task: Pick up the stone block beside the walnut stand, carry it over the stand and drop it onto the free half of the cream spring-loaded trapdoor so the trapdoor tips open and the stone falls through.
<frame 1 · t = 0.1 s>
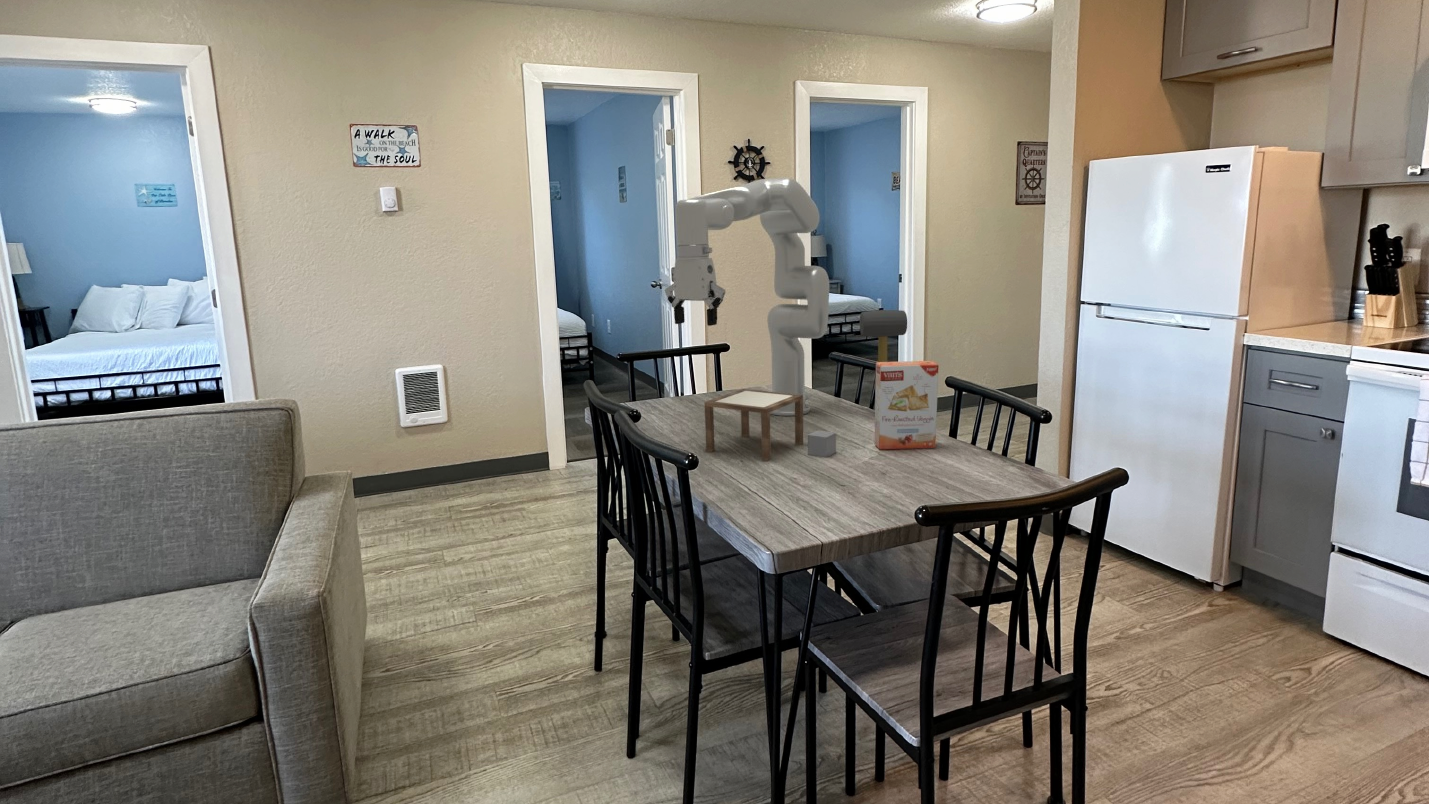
hand: (695, 324, 197), 31 cm above the table, fingers open, 9 cm apart
rubber mallet: (882, 415, 231), on the table
cracker box: (904, 447, 199), on the table
trapdoor: (754, 400, 200), point 12 cm above the table, hinge at -0.3°
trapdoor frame: (755, 447, 202), on the table
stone: (821, 453, 195), on the table
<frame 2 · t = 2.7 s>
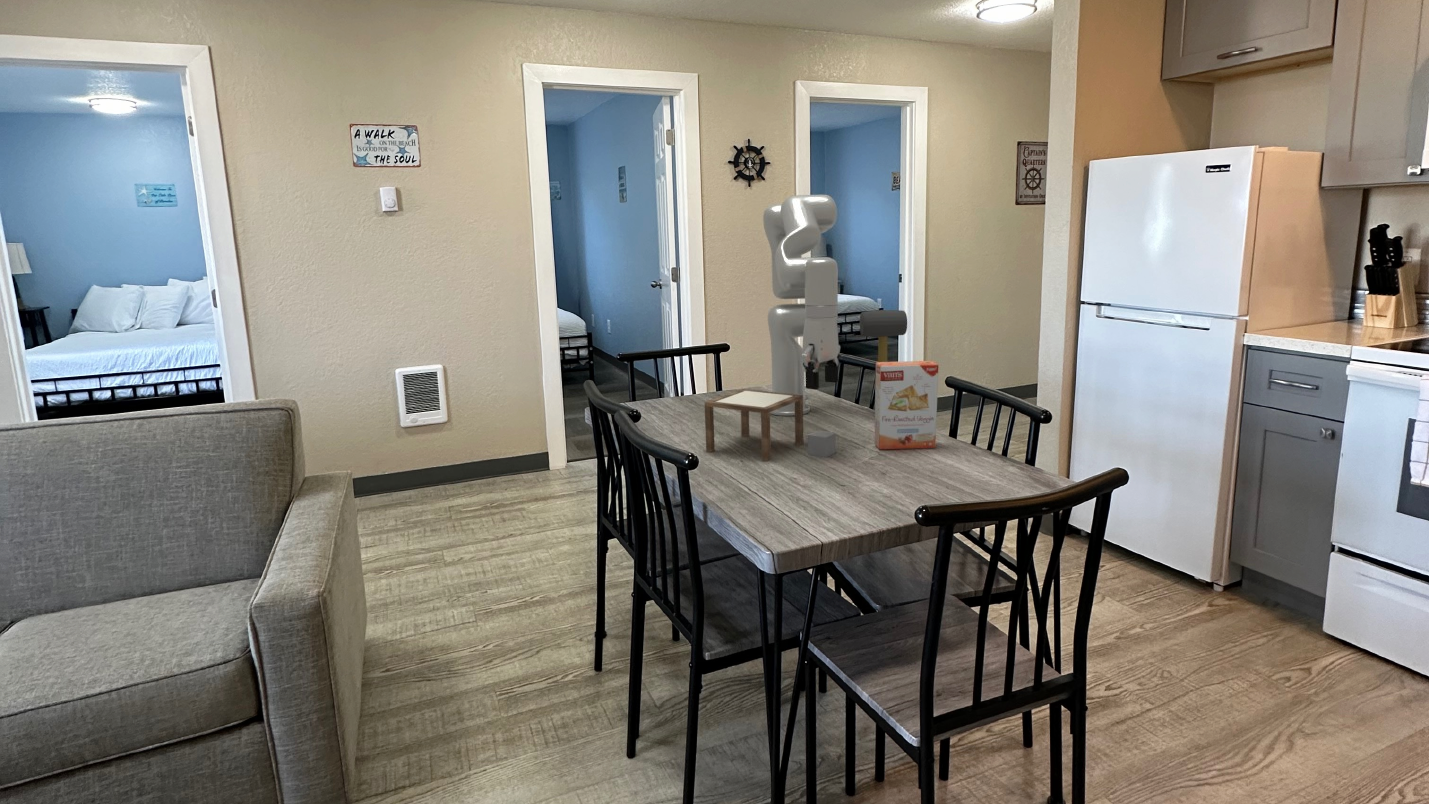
hand: (822, 385, 191), 17 cm above the table, fingers open, 9 cm apart
nothing on the table moved.
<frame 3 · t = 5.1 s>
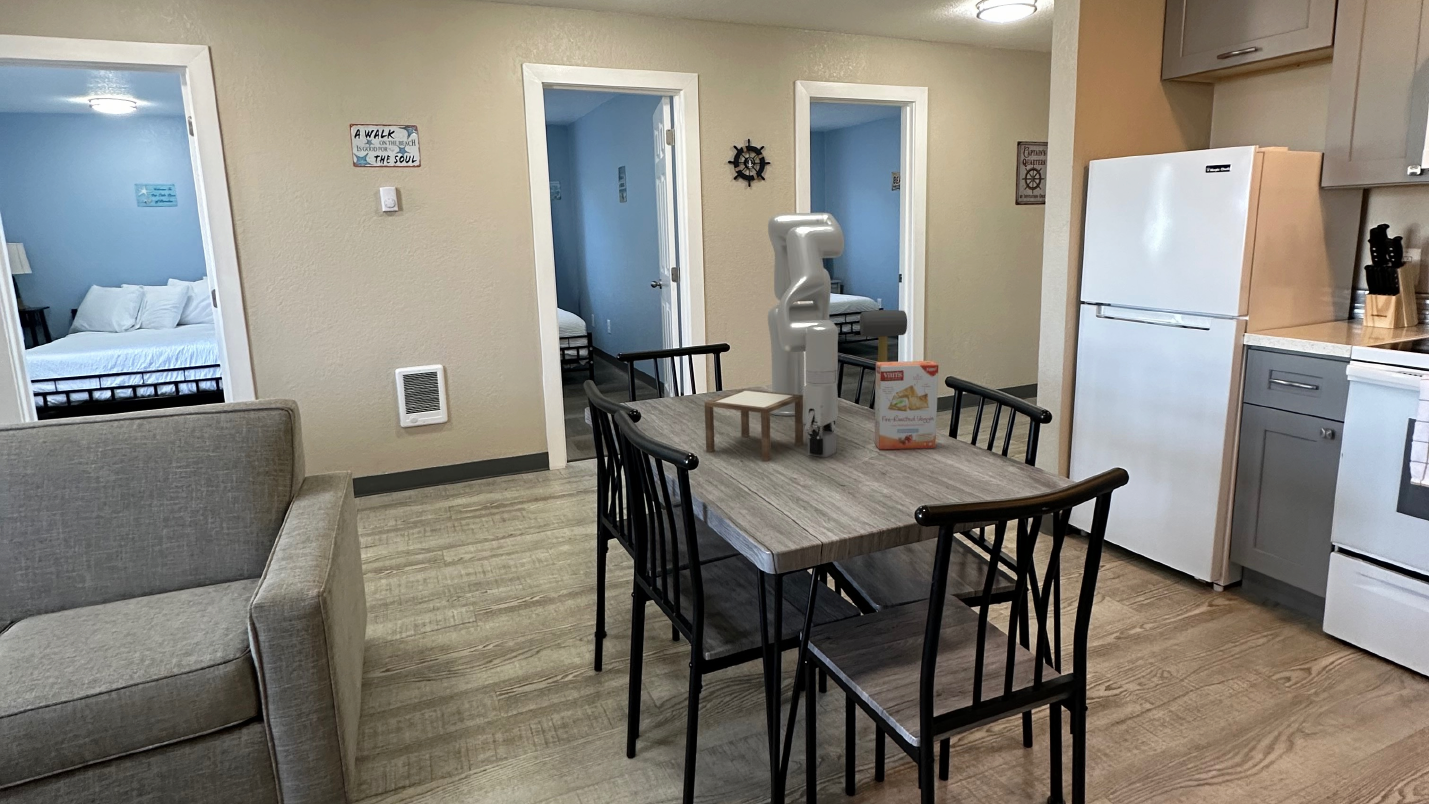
hand: (821, 450, 195), 1 cm above the table, fingers closed on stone, 5 cm apart
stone: (821, 453, 195), on the table, touching gripper
everything else where it was.
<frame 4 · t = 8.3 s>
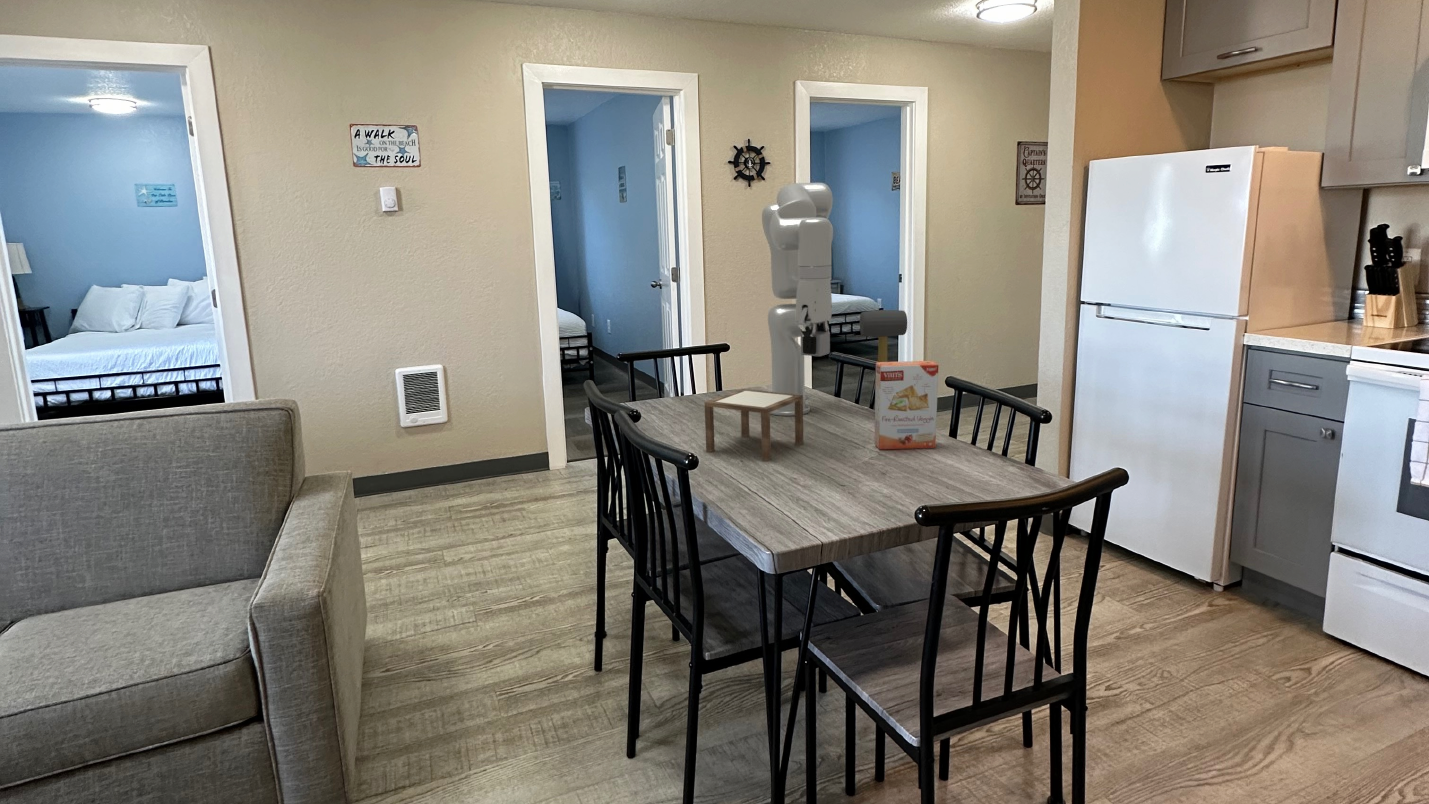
hand: (815, 350, 191), 25 cm above the table, fingers closed on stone, 5 cm apart
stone: (815, 353, 191), point 24 cm above the table, touching gripper
everything else where it was.
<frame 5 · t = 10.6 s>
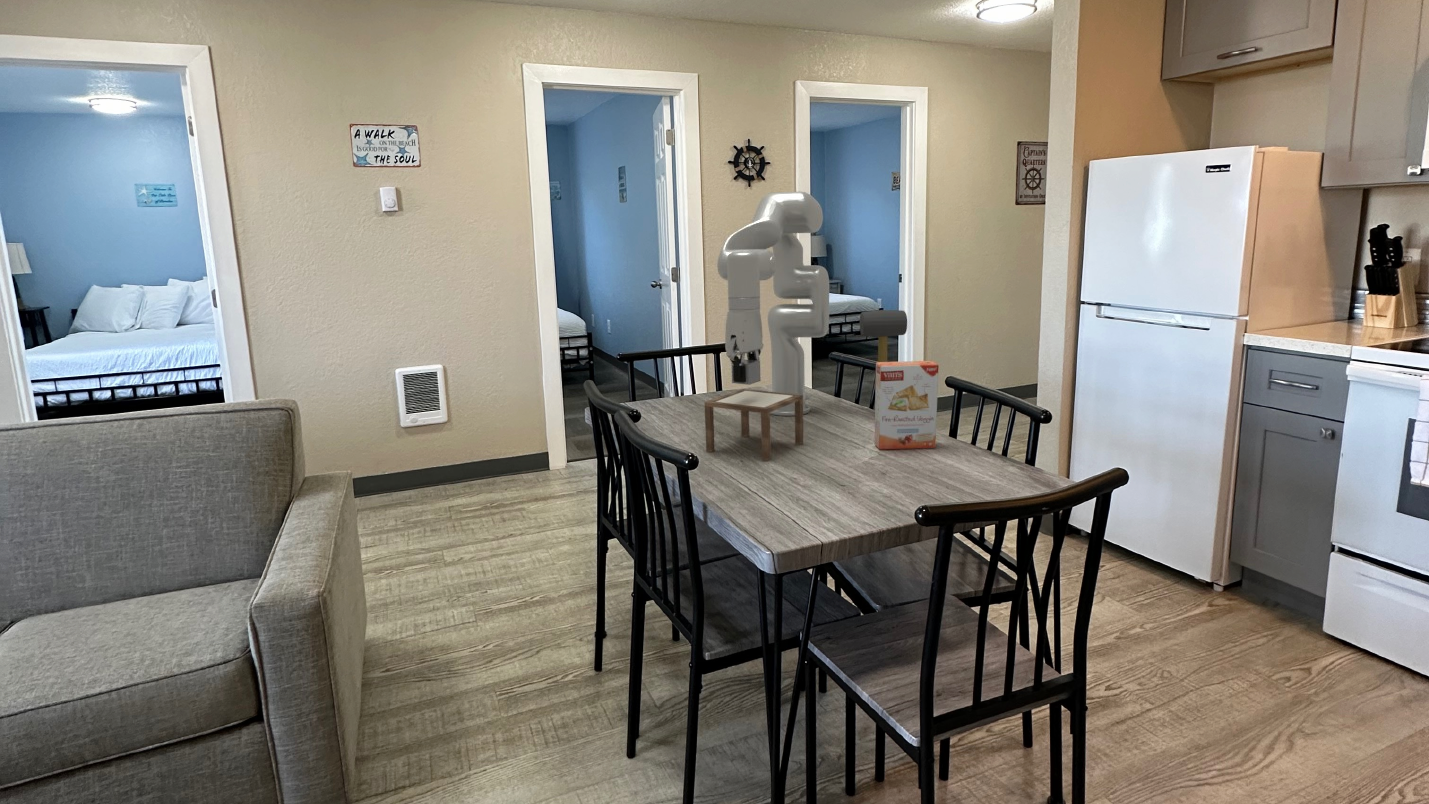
hand: (746, 379, 196), 18 cm above the table, fingers closed on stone, 5 cm apart
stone: (746, 382, 196), point 17 cm above the table, touching gripper
everything else where it was.
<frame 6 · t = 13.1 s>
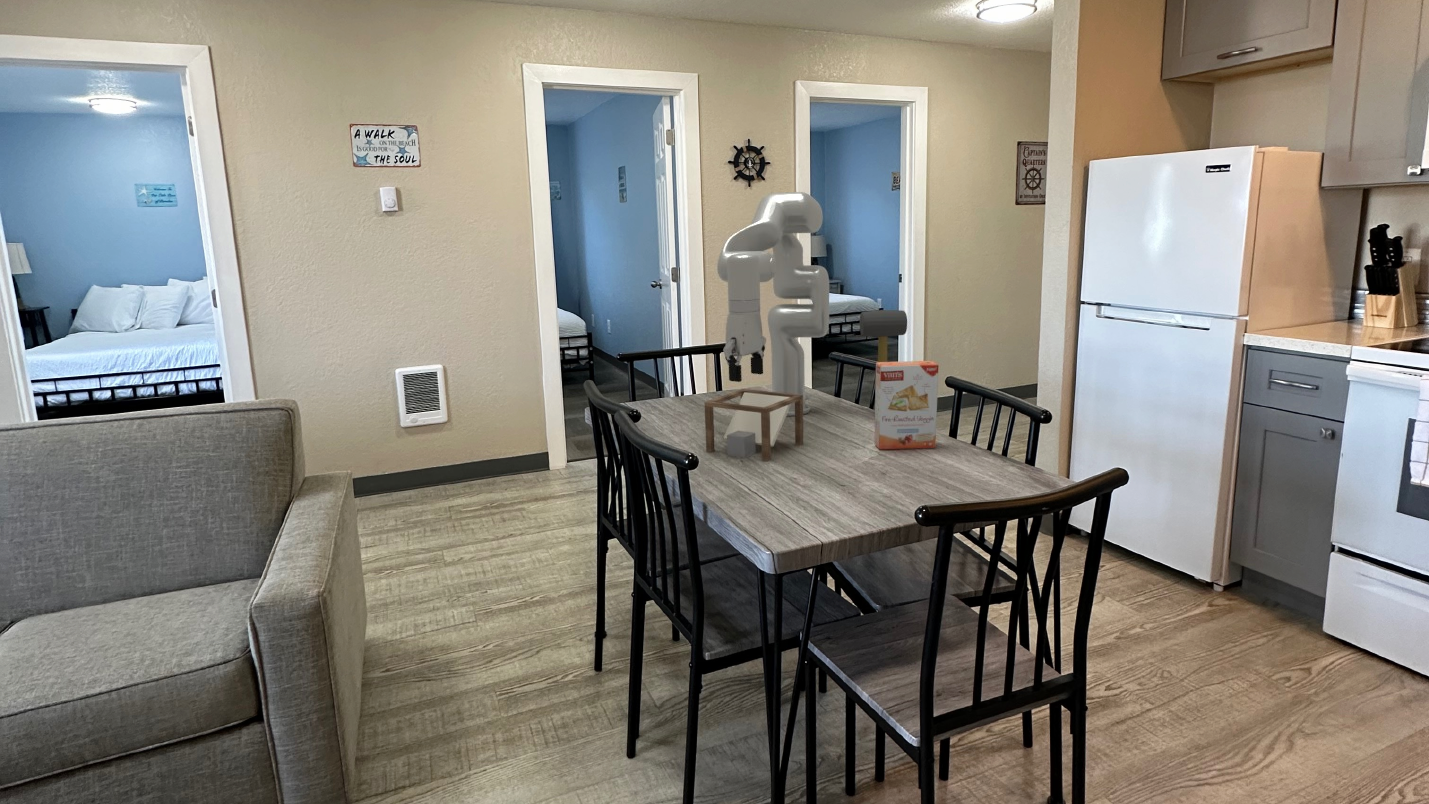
hand: (746, 377, 196), 18 cm above the table, fingers open, 9 cm apart
trapdoor: (758, 418, 202), point 7 cm above the table, hinge at -43.6°, touching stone
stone: (746, 441, 199), point 2 cm above the table, tilted 90°, touching trapdoor
everything else where it was.
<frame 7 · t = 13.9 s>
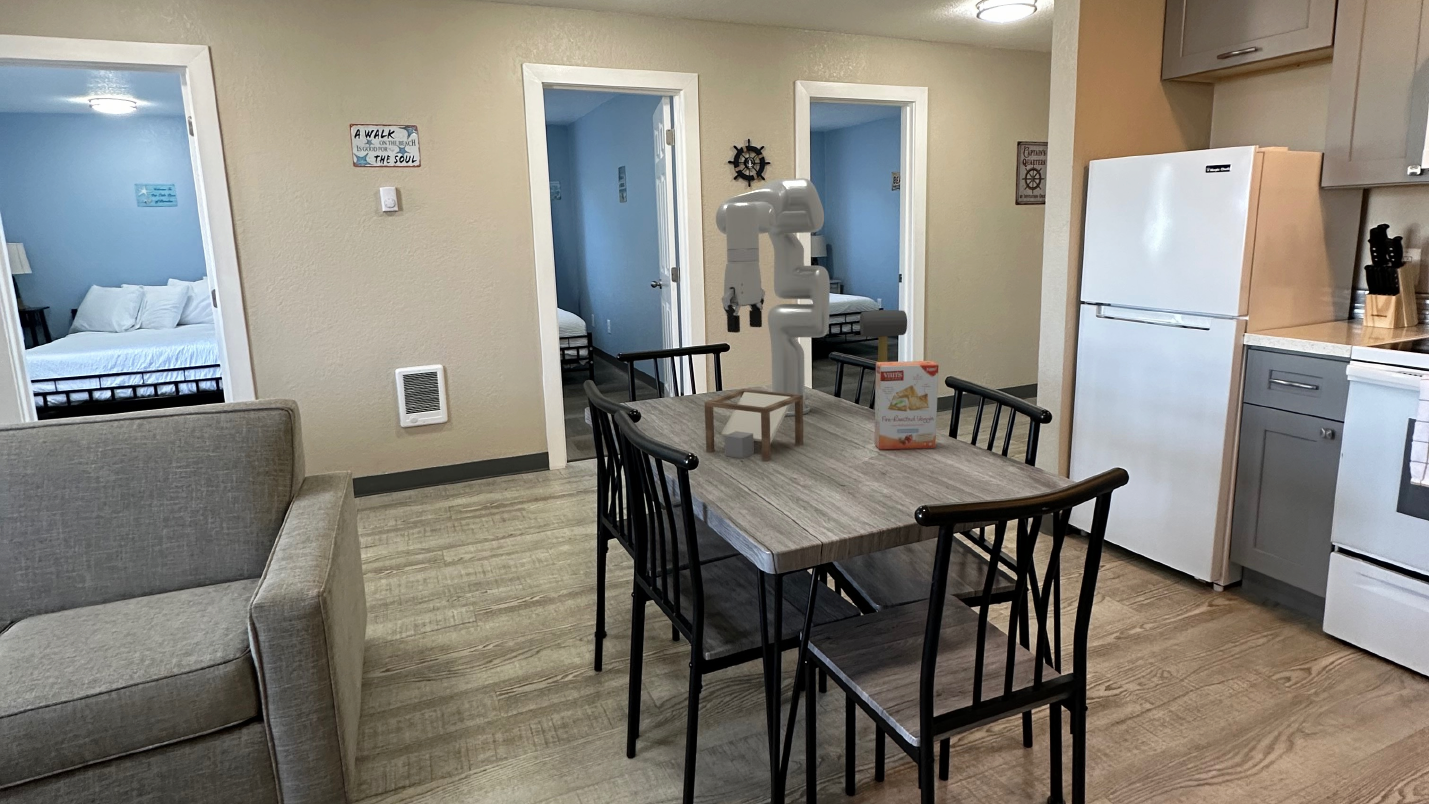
hand: (745, 329, 193), 30 cm above the table, fingers open, 9 cm apart
trapdoor: (757, 416, 202), point 8 cm above the table, hinge at -37.2°, touching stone
everything else where it was.
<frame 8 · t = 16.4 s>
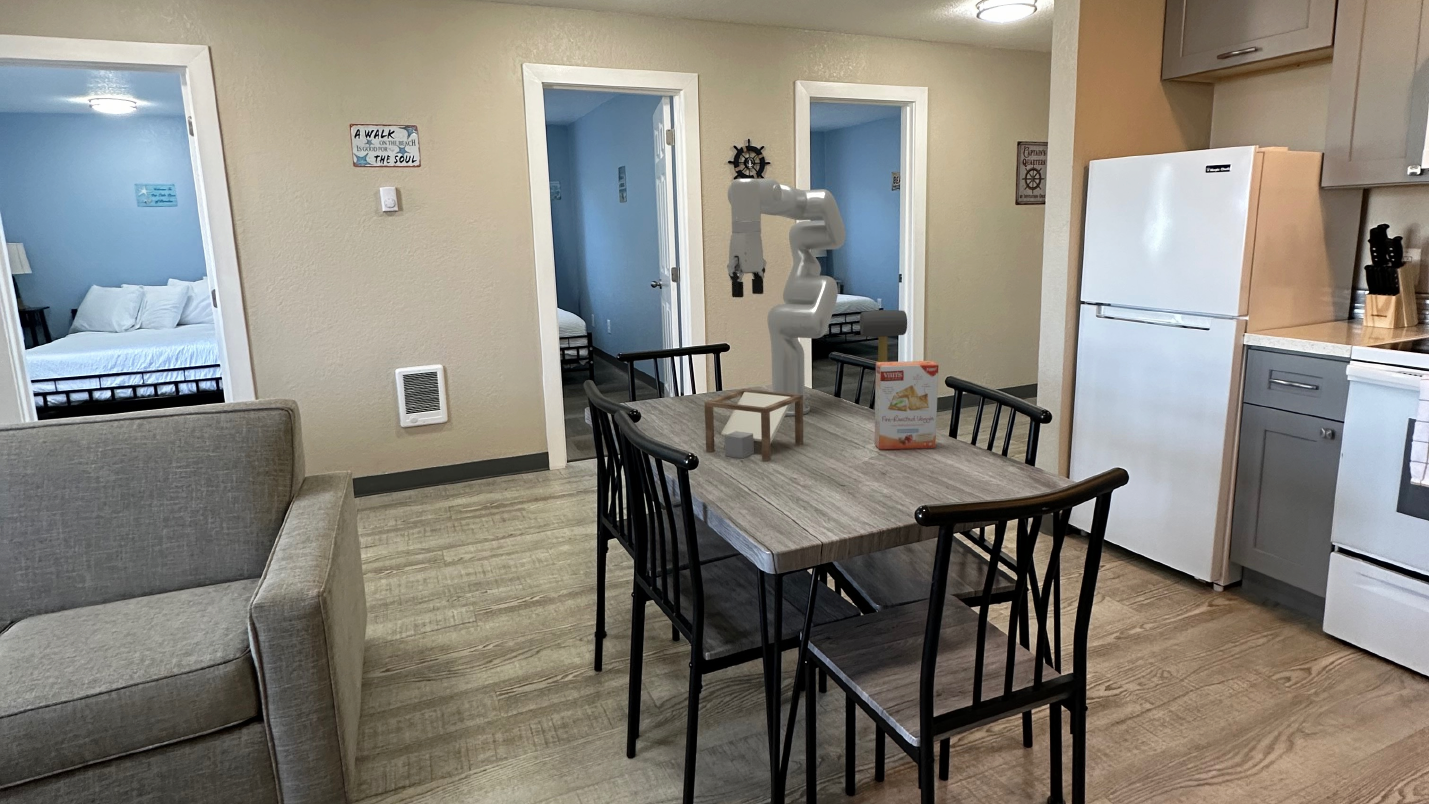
hand: (748, 295, 211), 36 cm above the table, fingers open, 9 cm apart
nothing on the table moved.
at the end: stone point 2.5 cm above the table; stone inside the target area on the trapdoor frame (0.2 cm from its centre), point 2.5 cm above the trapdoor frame's base; the gripper is holding nothing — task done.
